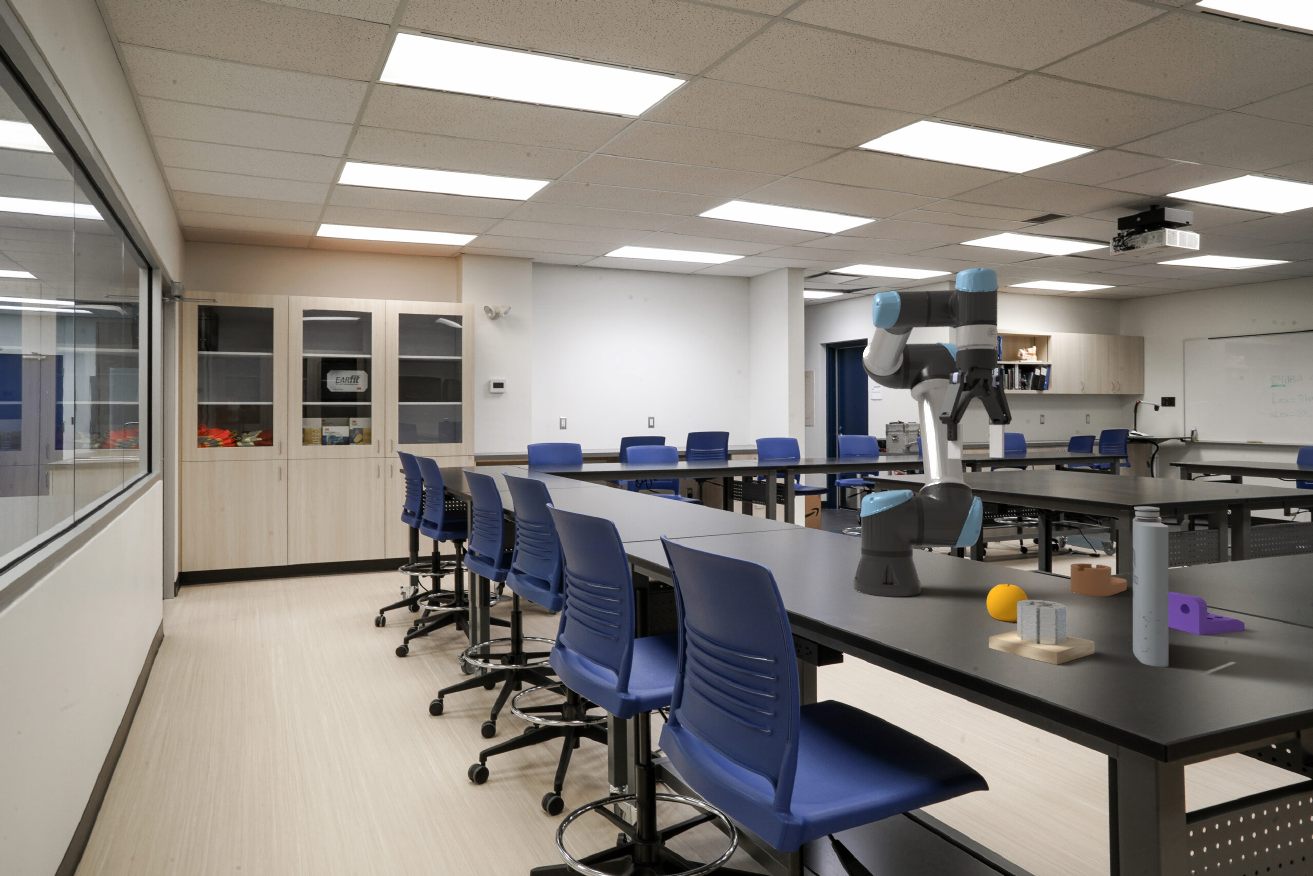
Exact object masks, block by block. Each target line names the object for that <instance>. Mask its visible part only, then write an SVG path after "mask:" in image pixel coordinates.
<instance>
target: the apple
mask: <svg viewBox="0 0 1313 876" xmlns="http://www.w3.org/2000/svg"><path fill="white" fill-rule="evenodd" d="M1023 600H1029V598H1028V595H1027V594H1026V592H1025V591H1024V590H1023V589H1022V588H1021V587H1019V586H1018V585H1015V584H1011V583H1000V584H997V585H996V586H994V587H992V588H991V589H990V591H989V592H988V595H987V597H986V608H987V612H988V613H989V615H990V616H991V617H992V618H993V619H994V620H998V621H1001V622H1008V623H1010V622H1011V623H1017V602H1018V601H1023Z"/></svg>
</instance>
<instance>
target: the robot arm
mask: <svg viewBox="0 0 1313 876" xmlns="http://www.w3.org/2000/svg"><path fill="white" fill-rule="evenodd" d="M955 280H956V281H955V285H954V288H955V289H951V290H949V289H947V290H946V289H944V290H911V291H894V290H891V291H884V292H877V293H876V294H874V296H873V300H872V301H873V303H872V312H871V313H872V323H873V326H874V327H875V328H876V329H875V331H874V334H873V338H872V340H871V342H869V343H868V344H867V346H866V347H865V349H864V351H863V353H862V354H863V355H862V367H863V370H864V372H865V373H866V375H867V376H868V377H869V378H870V379H871V380H872V381H873V382H875V383H877V384H878V385H880V386H882V387H885V388H888V389H894V390H910V396H911V398H912V399H913V400H914V401H917V405H918V406H917V407H918V417H919V418H918V419H919V427H920V438H921V450H922V461H923V471H924V474H923V475H924V485H923V487H922V488H921V489H920V490H919V496H916V495H915V494H914V492H913V490H911V489H900V490H899V489H896V490H887V491H886V490H885V491H880V492H879V491H878V492H872V493H868V494H866V495H865V496H864V497H862V500H861V508H860V510H861V511H860V515H859V516H860V518H861V519H860V520H861V521H860V522H861V526H860V528H861V529H860V531H861V532H860V537H861V538H860V539H861V540H860V546H861V547H860V560H859V562H858V565H857V568H856V571H855V576H854V578H853V590H854V589H855V590H857V591H856V592H858V591H860V592H859V593H861V592H863V593H862V594H865V593H867V594H866V595H870V594H872V596H878V597H879V596H880V597H910V596H916V595H919V594H921V592H922V588H921V587H922V585H921V584H922V583H921V581H920V579H919V574H918V572H917V568H916V564H915V562H914V551H913V550H914V547H924V548H925V547H927V548H929V547H931V548H933V547H934V548H935V547H937V548H954V549H956V548H969V547H972V546H974V545H975V544H976V543H977V541H978V540H979V537H980V533H981V528H982V523H983V511H984V510H983V502H982V501H983V500H982V499H981V497H978V496H977V495H973V492H972V488H971V486H970V485H969V484H967V483H966V482H965V481H964V474H963V465H962V464H963V463H962V459H963V458H964V457H963V455H964V454H963V453H964V449H963V447H964V446H963V445H964V443H963V442H964V441H963V439H964V438H963V435H964V434H963V433H964V432H963V431H964V430H963V429H964V428H963V427H964V426H963V425H964V424H961V421H962V418H963V417H964V415H965V413H966V411H967V409H968V407H969V405H970V402H972V399H973V398H977V399H978V400H980V401H981V403H982V404H983V407H984V409H985V411H986V413H987V415H988V417H989V419H990V421H991V423H992V424H989V458H1000V459H1005V425H1010V424H1011V421H1012V420H1013V418H1012V413H1011V410H1010V407H1009V406H1010V405H1009V403H1008V400H1007V396H1006V392H1005V389H1004V385H1003V384H1004V383H1003V376H1002V374H995V375H993V373H992V372H993V370H995V369H997V367H998V351H997V349H996V348H995V347H998V333H999V331H998V289H999V285H998V284H999V283H998V273H997V272H996V271H995V269H993V268H988V267H987V268H985V267H980V268H979V267H976V268H975V267H974V268H968V269H964V270H961V271H959V272H958V273H957V274H956V279H955ZM947 327H948V328H949V327H950V328H952V329H955V344H954V343H950V342H949V343H947V342H945V343H944V342H936V343H908V340H909V338H910V336H911V333H912V331H913V329H914V328H947ZM914 495H915V496H914ZM855 590H854V591H855Z"/></svg>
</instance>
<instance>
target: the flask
mask: <svg viewBox="0 0 1313 876" xmlns="http://www.w3.org/2000/svg"><path fill="white" fill-rule="evenodd" d="M1133 508H1134V510H1135V512H1134V514H1135V516H1134V518H1132V652H1133V655H1134V656H1135V657H1136V659H1137V660H1138V661H1139V662H1140V663H1142V664H1143V665H1147V666H1151V667H1160V668H1161V667H1162V668H1166V667H1169V627H1168V592H1169V525H1167V524H1164V523H1162V518H1161V517H1160V509H1161V508H1160V507H1156V506H1155V507H1154V506H1134V507H1133Z"/></svg>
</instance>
